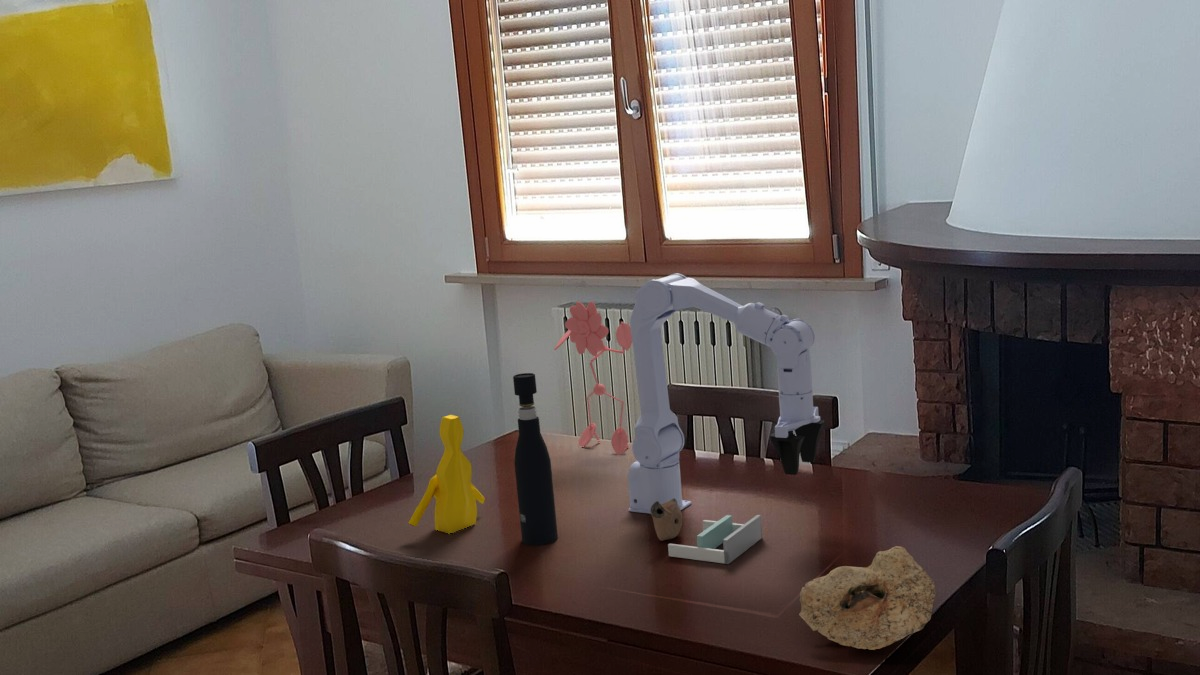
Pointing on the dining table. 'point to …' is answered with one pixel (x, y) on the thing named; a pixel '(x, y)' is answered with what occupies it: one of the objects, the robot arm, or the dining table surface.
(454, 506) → the figure statuette
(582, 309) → the figurine
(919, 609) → the tan rock
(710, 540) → the panel
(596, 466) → the dining table surface
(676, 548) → the pusher lane
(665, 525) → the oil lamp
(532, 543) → the black water bottle
